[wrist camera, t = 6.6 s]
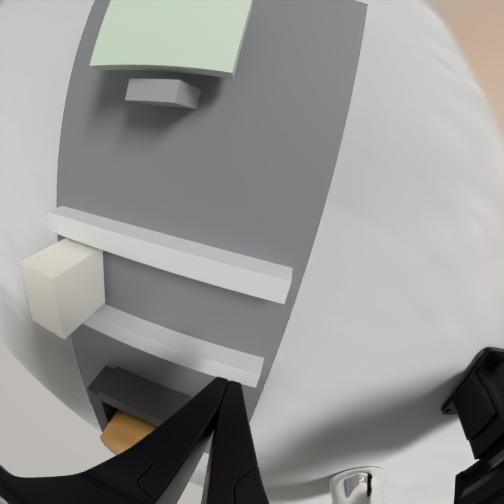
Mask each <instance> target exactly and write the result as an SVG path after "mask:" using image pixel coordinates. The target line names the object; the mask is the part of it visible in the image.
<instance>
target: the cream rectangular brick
mask: <svg viewBox="0 0 504 504" xmlns="http://www.w3.org/2000/svg"><path fill="white" fill-rule="evenodd" d="M20 263H21V269H22V275H23V280H24V285H25V290H26V295H27V299H28V304H29V308H30V312H31V316H32V319H33V321H35V322H36V323H38V324H39V325H41V326H43V327H44V328H46V329H47V330H49V331H51V332H52V333H54V334H55V335H57V336H59V337H60V338H62V339H64V340H65V339H66V338H67V337H68V336H69V335H70V334H71V333H72V332H73V331H74V330H76V329H77V328H78V327H79V326H80V325H81V324H82V323H83V322H84V321H85V320H86V319H87V318H89V317H90V316H91V315H92V314H93V313H94V312H95V311H96V310H97V309H99V308H100V307H101V306H102V305H103V304H104V303H105V289H104V268H103V250H101V249H98V248H95V247H92V246H90V245H87V244H84V243H81V242H78V241H75V240H73V239H70V238H65V239H63V240H61V241H59V242H57V243H55V244H53V245H51V246H49V247H47V248H45V249H43V250H41V251H40V252H38V253H36V254H34V255H32V256H30V257H29V258H27V259H25V260H23V261H21V262H20Z"/></svg>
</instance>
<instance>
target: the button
mask: <svg viewBox="0 0 504 504" xmlns="http://www.w3.org/2000/svg"><path fill="white" fill-rule="evenodd" d="M155 428H157V426H155V425H152V424H150V423H148V422H145V421H143V420H141V419H138V418H136V417H134V416H132V415H130V414H127V413H125V412H123V411H121V410H117V412H116V413H115V415H114V416H113V418H112V419H111V421H110V422H109V424H108V425H107V427H106V428H105V430H104V431H103V433H102V435H101V441H102V442H103V443H104V445H105V446H106V447H107V448H108V449H109V450H110V451H111V452H113V453H114V454H115V455H118V454H120V453H122V452H123V451H125V450H127V449H128V448H130V447H131V446H133V445H134V444H136V443H137V442H138V441H140V440H141V439H143V438H144V437H145V436H146V435H148V434H151V432H152V431H153V430H154V429H155Z"/></svg>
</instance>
